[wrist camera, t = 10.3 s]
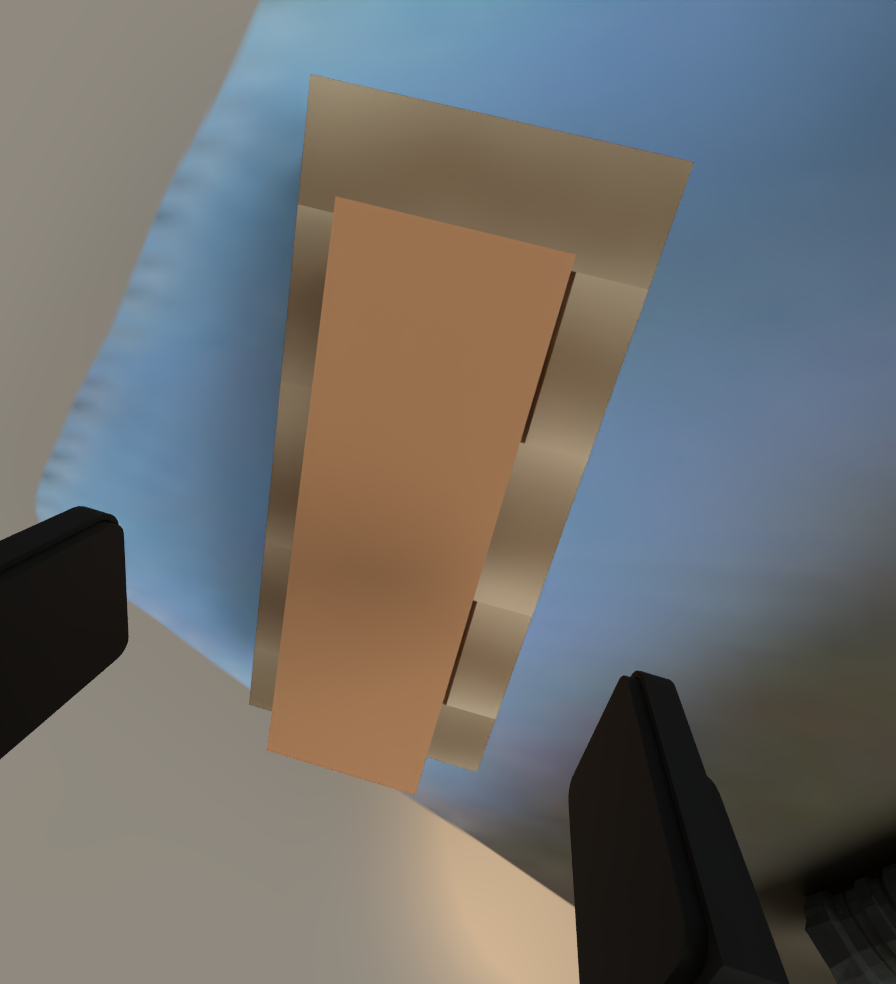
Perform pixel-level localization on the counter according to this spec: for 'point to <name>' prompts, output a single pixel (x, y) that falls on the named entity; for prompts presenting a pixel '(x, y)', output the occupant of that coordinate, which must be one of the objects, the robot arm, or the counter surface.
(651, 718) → the robot arm
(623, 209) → the slotted tan block
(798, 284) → the counter surface
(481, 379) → the tan wedge board
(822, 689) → the counter surface
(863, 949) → the flashlight
